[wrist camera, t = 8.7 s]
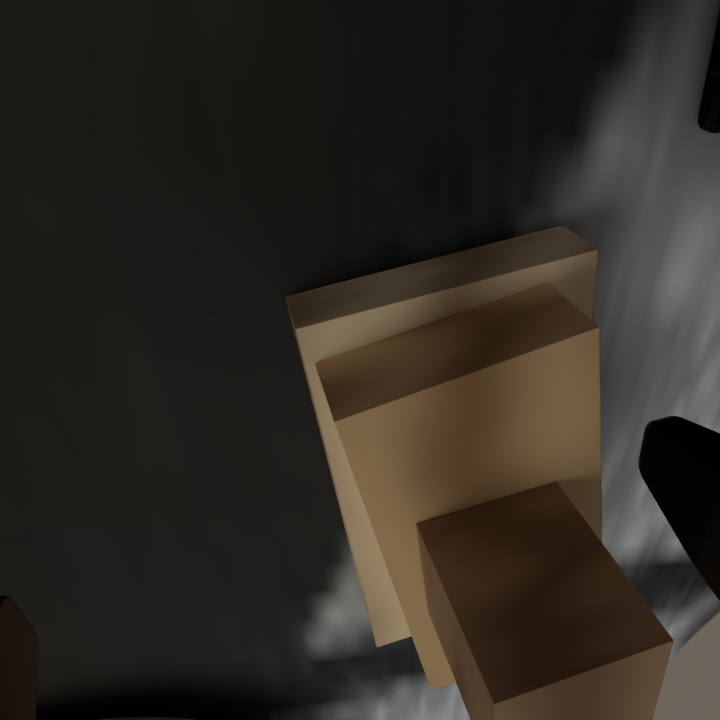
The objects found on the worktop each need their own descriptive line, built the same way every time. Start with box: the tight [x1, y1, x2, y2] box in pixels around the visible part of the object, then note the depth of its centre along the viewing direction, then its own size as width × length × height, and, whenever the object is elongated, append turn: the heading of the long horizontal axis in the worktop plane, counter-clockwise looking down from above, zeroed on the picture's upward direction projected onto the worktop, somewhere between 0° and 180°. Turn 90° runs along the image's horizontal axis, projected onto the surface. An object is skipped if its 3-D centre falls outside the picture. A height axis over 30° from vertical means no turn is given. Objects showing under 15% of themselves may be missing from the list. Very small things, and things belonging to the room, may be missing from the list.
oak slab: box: [315, 282, 602, 691], centre depth 23 cm, size 8×16×3 cm, turn 14°
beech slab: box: [285, 225, 598, 647], centre depth 26 cm, size 10×18×3 cm, turn 9°
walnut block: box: [416, 481, 673, 720], centre depth 20 cm, size 5×5×6 cm
